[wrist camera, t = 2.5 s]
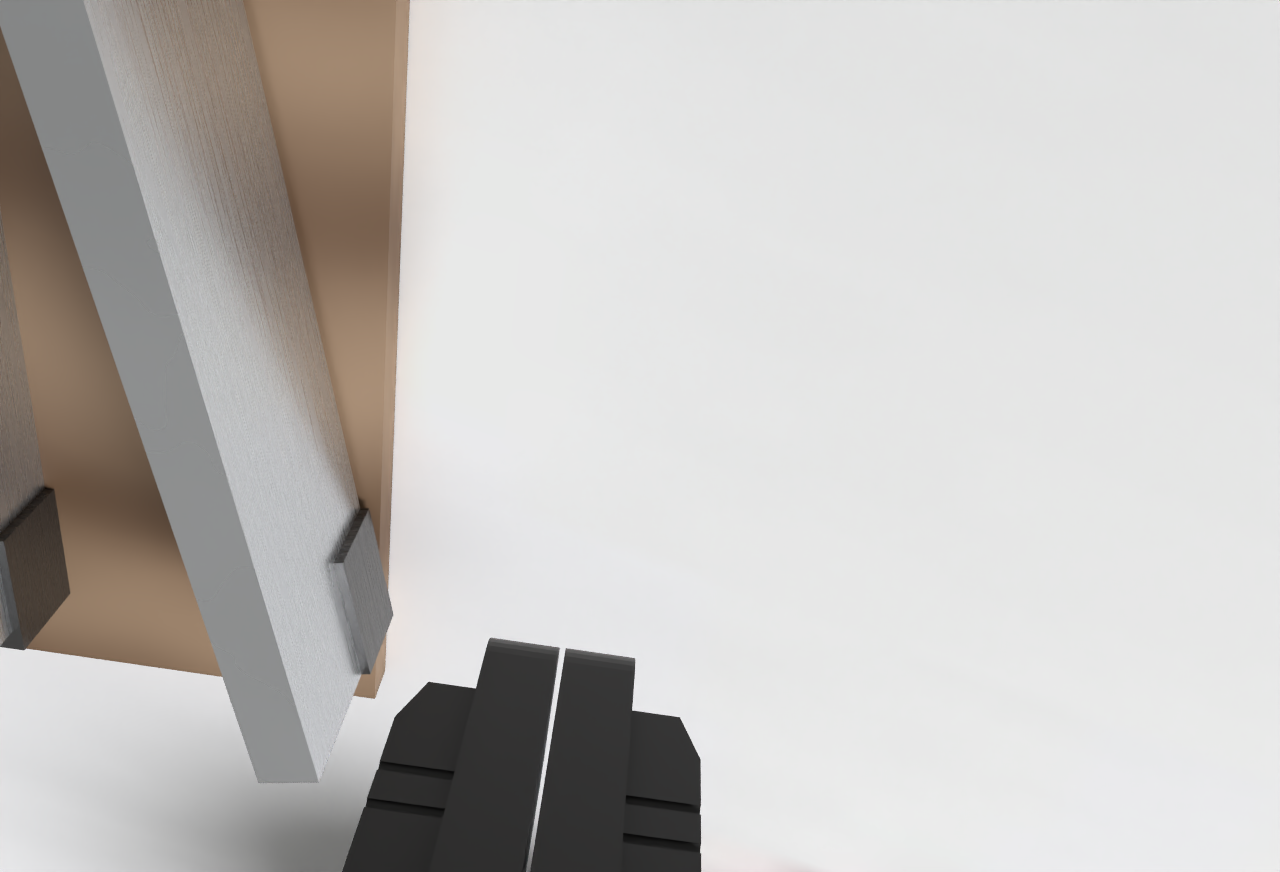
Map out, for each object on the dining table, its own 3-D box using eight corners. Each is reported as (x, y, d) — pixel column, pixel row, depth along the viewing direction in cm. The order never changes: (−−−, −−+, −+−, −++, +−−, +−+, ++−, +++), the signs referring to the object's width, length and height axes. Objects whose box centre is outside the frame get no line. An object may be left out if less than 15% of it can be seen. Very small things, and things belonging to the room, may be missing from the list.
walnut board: (-554, -950, 14) (-637, -1000, 13) (437, -761, 14) (421, -798, 13) (-127, 596, 27) (-154, 622, 26) (384, 671, 27) (374, 698, 27)
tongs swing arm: (31, -490, 15) (-237, -614, 11) (141, -501, 15) (-87, -629, 11) (326, 615, 25) (249, 782, 21) (393, 614, 25) (329, 782, 21)
